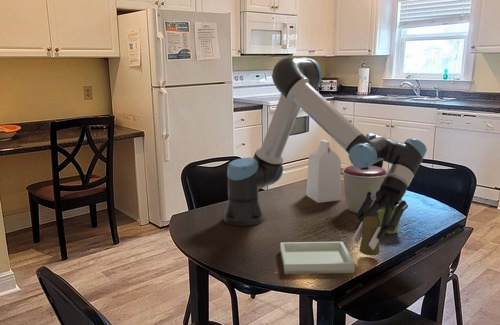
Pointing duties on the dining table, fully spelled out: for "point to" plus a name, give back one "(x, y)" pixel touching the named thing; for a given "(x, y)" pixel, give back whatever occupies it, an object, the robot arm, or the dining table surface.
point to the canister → (361, 184)
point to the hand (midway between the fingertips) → (362, 244)
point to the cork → (369, 235)
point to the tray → (316, 258)
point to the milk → (324, 174)
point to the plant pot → (381, 215)
